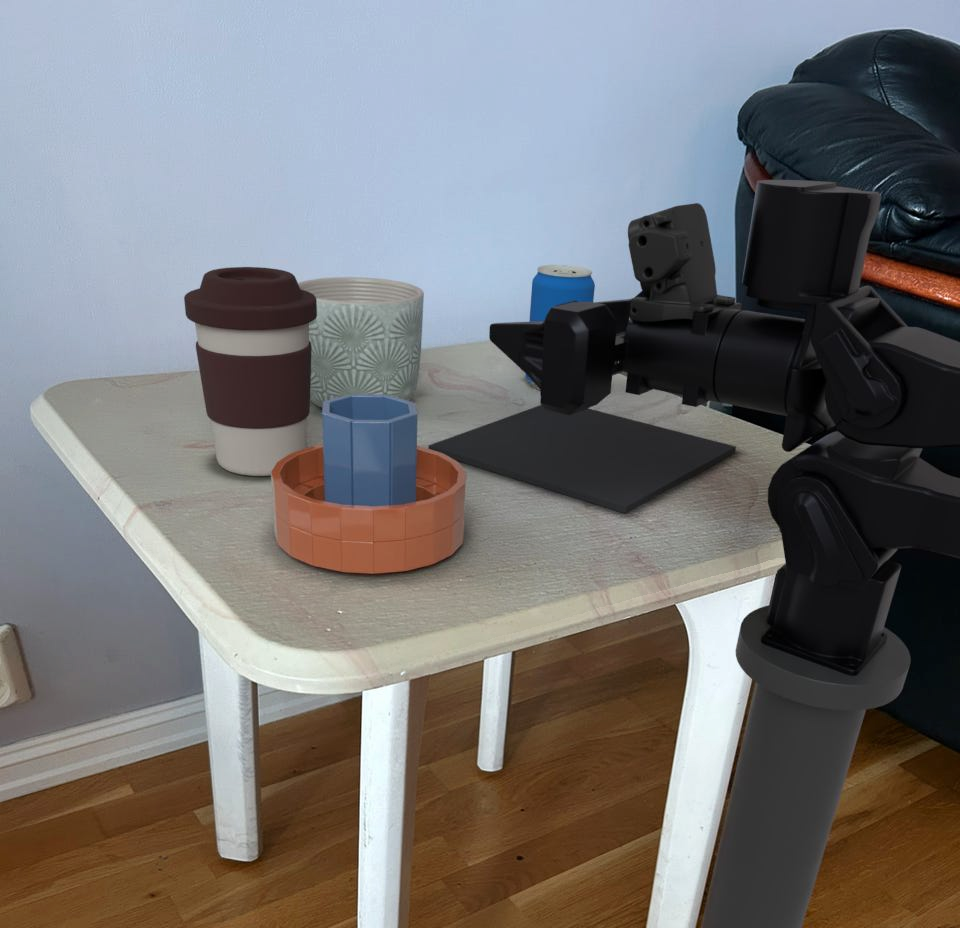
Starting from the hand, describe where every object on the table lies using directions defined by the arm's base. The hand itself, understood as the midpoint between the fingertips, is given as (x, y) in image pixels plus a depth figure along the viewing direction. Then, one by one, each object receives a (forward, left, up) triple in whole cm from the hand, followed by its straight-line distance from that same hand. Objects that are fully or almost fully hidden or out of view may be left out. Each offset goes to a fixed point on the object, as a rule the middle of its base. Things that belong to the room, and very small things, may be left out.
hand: (528, 321), depth 70 cm
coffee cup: (+21, +8, -14) cm, 26 cm away
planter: (+27, -10, -14) cm, 32 cm away
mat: (+3, -14, -14) cm, 20 cm away
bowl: (+4, +13, -14) cm, 19 cm away
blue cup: (+4, +13, -13) cm, 19 cm away
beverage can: (+17, -30, -14) cm, 37 cm away
